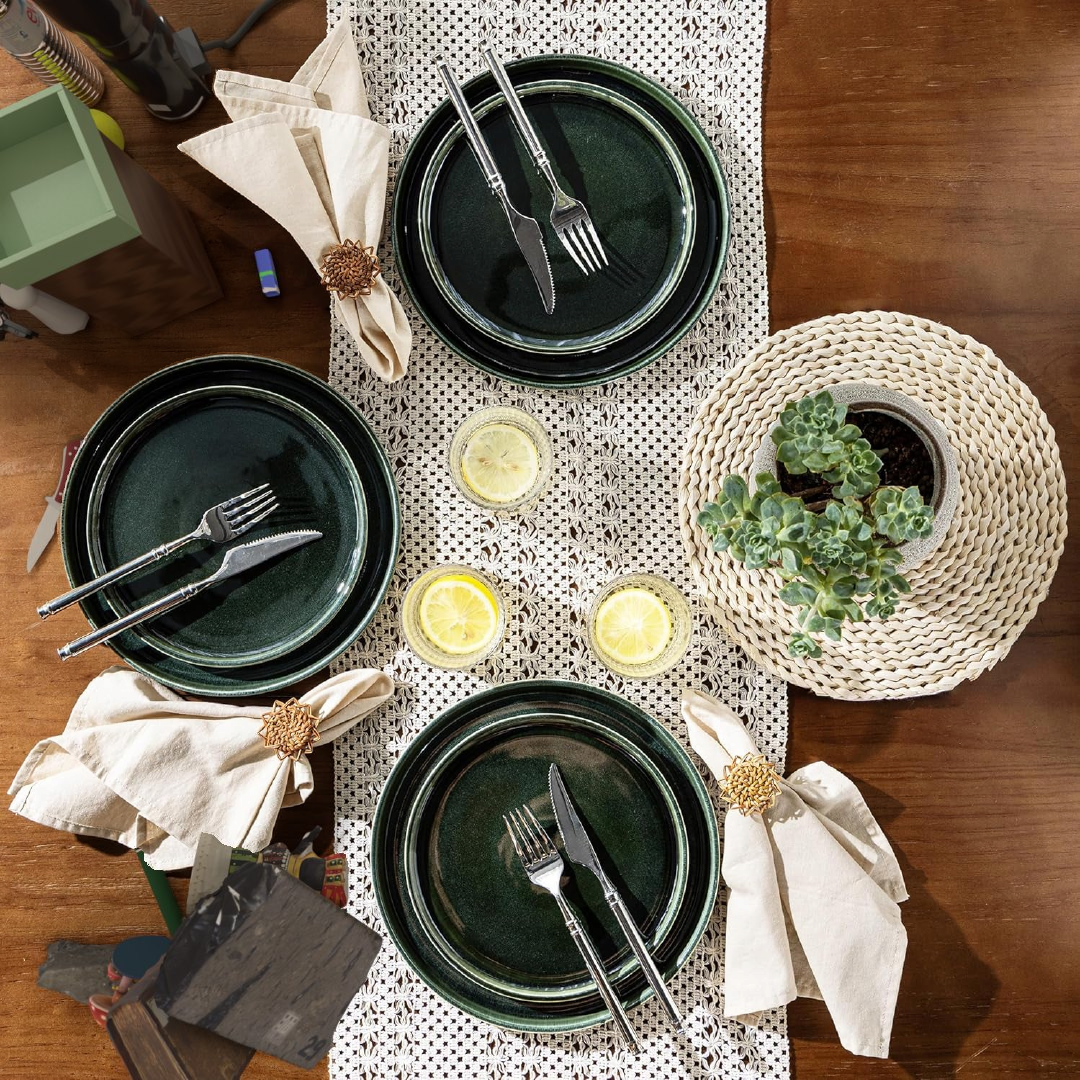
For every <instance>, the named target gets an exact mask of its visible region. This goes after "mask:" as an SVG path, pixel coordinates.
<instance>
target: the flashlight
mask: <svg viewBox="0 0 1080 1080" xmlns="http://www.w3.org/2000/svg"><path fill="white" fill-rule="evenodd" d="M134 851H135V854H136V856H137V859H138V860H139V863H140V866H141V867H142V870H143V872H144V875H145V877H146V880H147V882H148V884H149V886H150V889H151V891H152V894H153V897H154V899H155V901H156V903H157V905H158V908H159V910H160V913H161V915H162V917H163V919H164V922H165V924H166V927H167V929H168V932H169V934H170V936H171V938H172V937H173V935H174V934H175V931H176V930H177V929H178V927H179V926H180V925H181V924H182V922H183V921H184V920H185V919H186V918H187V917H186V916H185V915H183V913H182V911H181V908H180V906H179V903H178V901H177V899H176V896H175V894H174V892H173V889H172V887H171V884H170V882H169V880H168V877H167V875H166V873H165V870H164V869H163V870H154V869H152V868H151V867H150V866H148V865H149V864H148V865H147V862H145V861H144V852H143V851H142V849H136V848H134Z"/></svg>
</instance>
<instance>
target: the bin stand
mask: <svg viewBox="0 0 1080 1080" xmlns="http://www.w3.org/2000/svg"><path fill="white" fill-rule="evenodd" d="M97 129H98V128H97ZM98 131H99V133H100V136H101V138H102V140H103V143H104V145H105V148H106V150H107V152H108V155H109V157H110V159H111V162H112V164H113V167H114V169H115V171H116V174H117V176H118V178H119V181H120V183H121V186H122V188H123V190H124V193H125V195H126V197H127V200H128V202H129V205H130V207H131V209H132V212H133V214H134V216H135V219H136V221H137V224H138V226H139V228H140V231H141V233H142V235H140V236H137V237H135V238H133V239H131V240H128V241H126V242H124V243H122V244H120V245H117V246H115V247H113V248H111V249H108V250H106V251H104V252H102V253H100V254H97V255H95V256H93V257H91V258H88V259H86V260H84V261H82V262H80V263H77V264H75V265H73V266H71V267H68V268H66V269H64V270H62V271H60V272H57V273H55V274H53V275H51V276H48V277H46V278H44V279H42V280H39V281H37V282H35V283H33V284H31V285H30V286H32V287H34V288H36V289H38V290H40V291H42V292H44V293H46V294H49V295H51V296H53V297H55V298H57V299H59V300H61V301H63V302H65V303H67V304H69V305H71V306H74V307H76V308H78V309H80V310H82V311H84V312H86V313H88V315H89V316H92V317H94V318H97V319H98V320H101V321H103V322H104V323H107V324H109V325H111V326H113V327H115V328H117V329H119V330H122V331H124V332H125V333H127V334H129V335H131V336H134V337H138V336H140V335H143V334H144V333H147V332H149V331H152V330H153V329H156V328H158V327H161V326H162V325H165V324H167V323H169V322H171V321H174V320H176V319H178V318H180V317H181V318H182V316H185V315H187V314H190V313H192V312H193V311H196V310H199V309H201V308H203V307H205V306H207V305H209V304H212V303H214V302H217V301H219V300H221V299H223V298H225V294H224V292H223V289H222V287H221V284H220V282H219V280H218V277H217V275H216V273H215V270H214V268H213V265H212V263H211V261H210V259H209V256H208V254H207V252H206V249H205V246H204V244H203V242H202V240H201V237H200V235H199V233H198V230H197V228H196V225H195V222H194V221H193V219H192V216H191V214H190V211H189V208H188V207H187V206H186V205H185V203H183V202H181V200H179V199H178V198H177V197H176V196H175V195H174V194H173V193H171V192H170V191H169V190H168V189H167V188H166V187H165V186H164V185H162V184H161V183H160V182H159V181H158V180H157V179H156V178H155V177H153V175H151V174H150V173H149V172H148V171H146V170H145V169H144V168H143V166H141V165H140V164H139V163H138V162H137V161H135V160H134V159H133V158H131V157H130V156H129V155H128V154H127V153H126V151H124V150H121V149H120V148H119V147H118V146H117V145H116V144H115V143H113V142H112V141H111V140H110V139H109V138H108V137H107V136H106V135H104V134H103V133H102V132H101V131H100V130H99V129H98Z"/></svg>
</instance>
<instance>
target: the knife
mask: <svg viewBox="0 0 1080 1080" xmlns="http://www.w3.org/2000/svg"><path fill="white" fill-rule="evenodd" d="M83 442H84V441H83V440H73V441H71V442H69V443H68V444H67V445H66V446H65V447H64V448H63V454H62V455H63V457H62V467H61V473H60V477H59V481H58V485H57V487H56V490H55V493H54V494H53V495H52V496H45V498H44V500H45V501H46V502H47V503H48V504H47V506H46V509H45V511H44V514H43V515H42V518H41V520H40V522H39V524H38V525H37V528H36V530H35V533H34V535H33V537H32V540H31V543H30V545H29V548H28V552H27V559H26V570H27V574H28V575H29V574H30V573H31V571H32V570H33V567H34V566H35V564H36V563H37V561H38V559H39V558H40V557H41V555H42V553H43V552H44V550H45V548H46V547H47V545H48V544H49V542H50V541H51V539H52V537H53V536H54V534H55V527H56V525H57V523H58V522H57V521H58V520H59V517H60V515H61V513H60V510H61V503H62V493H63V490H64V488H65V482H66V480H67V475H68V474H69V471H70V467H71V464H72V460H73V458H74V457H75V454H76V453H77V451H78V448H79V447H80V445H81V444H82V443H83Z"/></svg>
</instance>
